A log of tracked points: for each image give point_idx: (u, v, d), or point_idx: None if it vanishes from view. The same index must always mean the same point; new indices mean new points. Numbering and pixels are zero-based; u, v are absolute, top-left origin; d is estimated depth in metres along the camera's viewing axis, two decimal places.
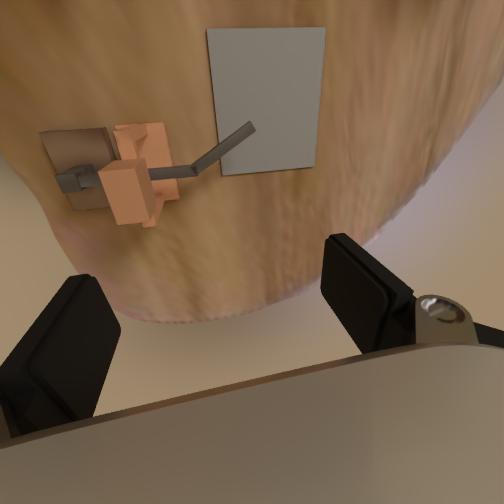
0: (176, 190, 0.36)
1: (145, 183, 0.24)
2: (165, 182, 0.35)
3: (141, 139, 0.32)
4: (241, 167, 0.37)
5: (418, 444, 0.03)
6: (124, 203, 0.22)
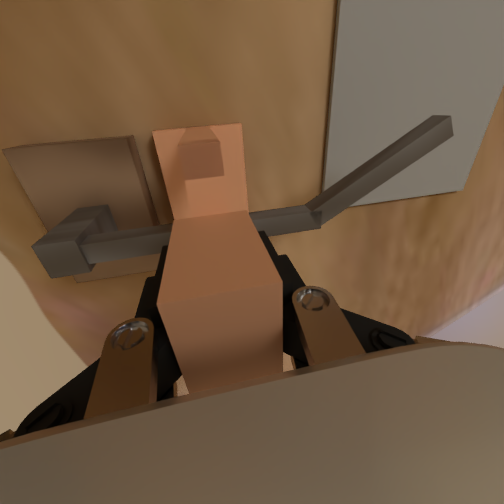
0: None
1: None
2: None
3: None
4: None
5: (418, 444, 0.03)
6: (227, 369, 0.07)
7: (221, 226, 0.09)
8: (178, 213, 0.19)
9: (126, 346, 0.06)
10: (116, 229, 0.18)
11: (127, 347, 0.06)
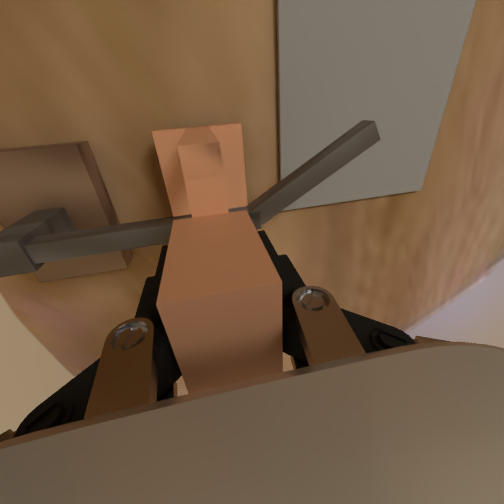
0: None
1: None
2: None
3: None
4: (311, 197, 0.23)
5: (418, 444, 0.03)
6: (227, 369, 0.07)
7: (221, 226, 0.09)
8: (178, 213, 0.19)
9: (126, 346, 0.06)
10: (74, 230, 0.18)
11: (127, 347, 0.06)
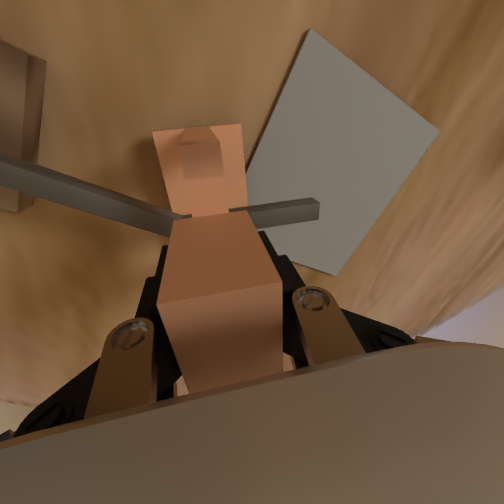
0: None
1: None
2: None
3: None
4: None
5: (418, 444, 0.03)
6: (227, 369, 0.07)
7: (221, 226, 0.09)
8: (178, 213, 0.19)
9: (126, 346, 0.06)
10: None
11: (127, 347, 0.06)
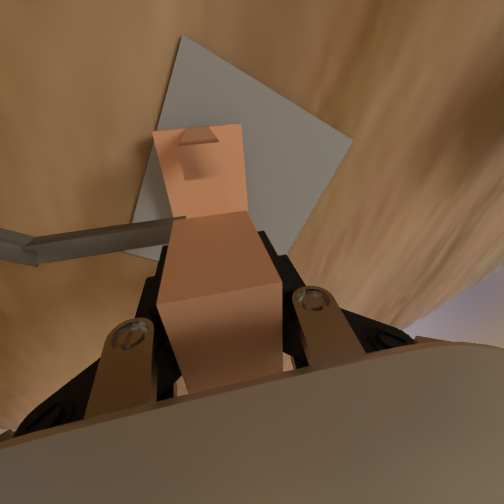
0: None
1: None
2: None
3: None
4: (160, 253, 0.23)
5: (418, 444, 0.03)
6: (227, 369, 0.07)
7: (221, 226, 0.09)
8: (178, 213, 0.19)
9: (126, 346, 0.06)
10: None
11: (127, 347, 0.06)
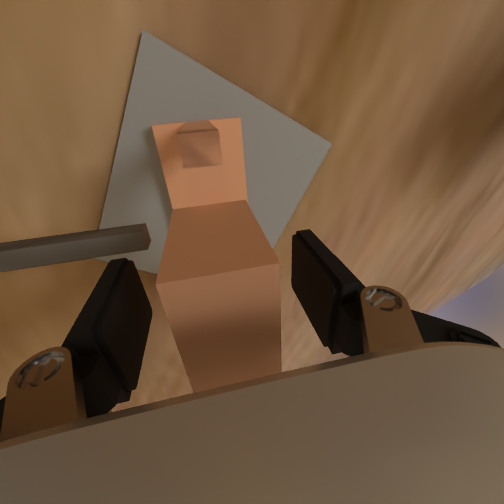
0: None
1: None
2: None
3: None
4: (132, 259, 0.22)
5: (418, 444, 0.03)
6: (226, 352, 0.07)
7: (220, 214, 0.09)
8: (178, 207, 0.19)
9: (38, 382, 0.05)
10: None
11: (40, 383, 0.05)
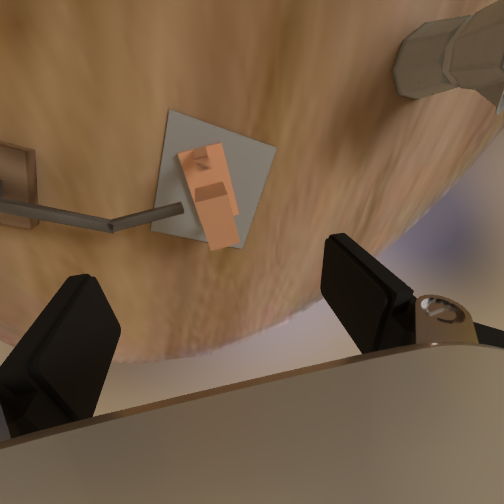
0: (236, 206, 0.37)
1: None
2: None
3: None
4: (171, 229, 0.38)
5: (418, 444, 0.03)
6: (218, 228, 0.23)
7: (212, 187, 0.24)
8: (194, 195, 0.35)
9: None
10: (2, 195, 0.30)
11: None
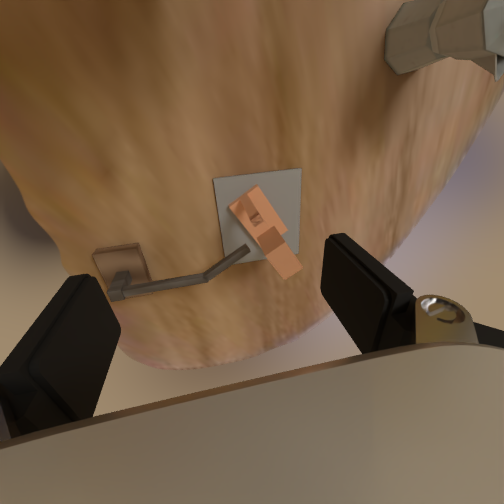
0: (283, 225, 0.45)
1: None
2: (274, 224, 0.44)
3: None
4: (240, 259, 0.48)
5: (418, 444, 0.03)
6: (285, 265, 0.31)
7: (269, 234, 0.33)
8: (250, 230, 0.44)
9: None
10: (131, 279, 0.43)
11: None
